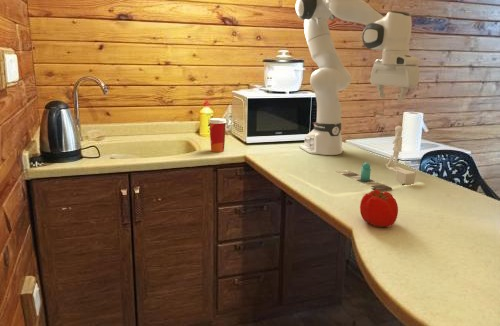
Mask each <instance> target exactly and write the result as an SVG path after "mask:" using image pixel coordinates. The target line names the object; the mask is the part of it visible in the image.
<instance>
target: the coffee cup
mask: <svg viewBox="0 0 500 326" xmlns="http://www.w3.org/2000/svg"><path fill="white" fill-rule="evenodd" d="M226 123H227V120H226V118H222V117H221V118H220V117H213V118H209V121H208V124H209V140H210V151H211V152H212V153H222V152H224V151H225V141H226V140H225V139H226V125H227V124H226Z"/></svg>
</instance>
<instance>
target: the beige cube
mask: <svg viewBox="0 0 500 326" xmlns="http://www.w3.org/2000/svg"><path fill="white" fill-rule="evenodd" d="M395 176H396V177H395V181H397V182H400V183H401V184H402V186H404V185H407V186H412V185H411V184H413V185H414V184H415V179H416V172H414V171H411V170H408V169H404V170H400V171H396V175H395Z"/></svg>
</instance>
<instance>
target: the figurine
mask: <svg viewBox="0 0 500 326" xmlns="http://www.w3.org/2000/svg"><path fill="white" fill-rule="evenodd" d="M403 130H404V128H403V126H402V125H396V126H395V128H394V131H395V135H394V139H393V142H392V144H393V148H392V150H393V152H392V153H393V154H392V155H391V156H390V158H389V160H388V163H385V166H386V167H385V168H386V169H389V170H391V171H394V172H397V171H400V170H405V169H404V168H402V167H399V166H397V165H398V157H399V155H400V153H401V152H402V149H403V148H402V145H403V137H402V133H403ZM392 160H394V167H393V166H390V167H389V165H390V164H391V162H392Z"/></svg>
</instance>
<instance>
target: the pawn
mask: <svg viewBox="0 0 500 326" xmlns="http://www.w3.org/2000/svg"><path fill="white" fill-rule="evenodd" d="M371 170H372V169H371V164H370V163H369V162H364V163H362V167H361V170H360V175H361V181H364V182H369V181H370V179H371Z"/></svg>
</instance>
